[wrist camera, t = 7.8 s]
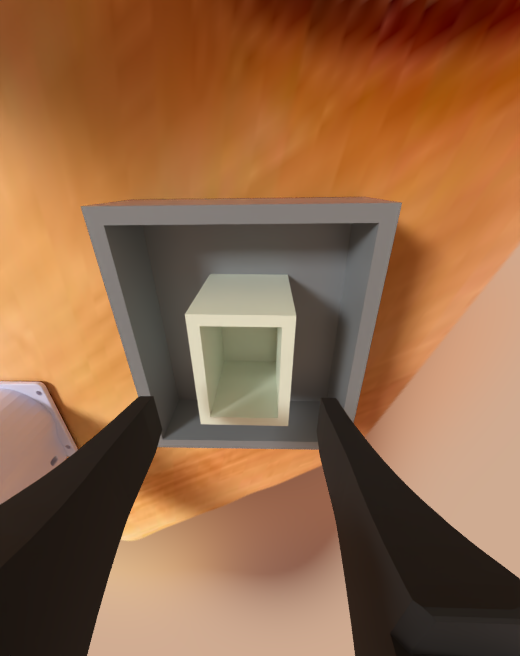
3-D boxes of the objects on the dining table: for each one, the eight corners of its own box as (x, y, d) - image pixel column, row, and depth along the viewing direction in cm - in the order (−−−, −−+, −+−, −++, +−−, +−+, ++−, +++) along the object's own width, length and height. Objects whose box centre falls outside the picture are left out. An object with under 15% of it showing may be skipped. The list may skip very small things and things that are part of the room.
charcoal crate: (332, 399, 24) (347, 449, 19) (174, 398, 24) (153, 446, 20) (364, 196, 16) (401, 202, 11) (131, 199, 16) (80, 206, 12)
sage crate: (282, 363, 21) (288, 426, 15) (217, 362, 21) (200, 424, 15) (287, 274, 17) (296, 315, 12) (210, 273, 17) (184, 314, 12)
